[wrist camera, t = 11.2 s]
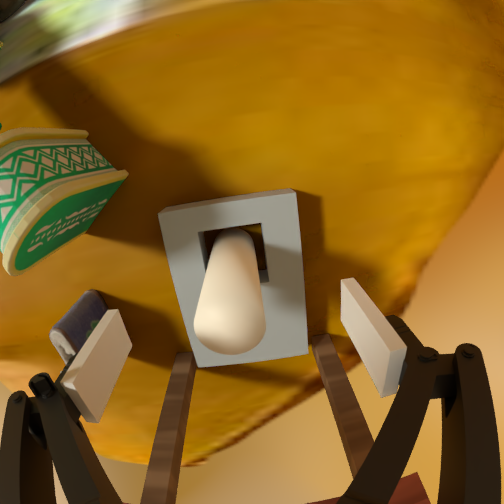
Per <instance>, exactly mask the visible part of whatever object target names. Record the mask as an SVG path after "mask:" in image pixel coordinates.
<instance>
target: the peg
mask: <svg viewBox="0 0 504 504" xmlns="http://www.w3.org/2000/svg"><path fill="white" fill-rule="evenodd" d="M194 331H195V334H196V336H197V338H198V339H199V341H200V342H201V343H202V344H203V345H204V346H205V347H207V348H208V349H210V350H212V351H214V352H216V353H220V354H225V355H237V354H242V353H245V352H248V351H250V350H251V349H253V348H254V347H256V346H257V345H258V344H259V343H260V342H261V340H262V339H263V337H264V334H265V331H266V320H265V313H264V307H263V300H262V293H261V287H260V280H259V274H258V267H257V261H256V254H255V247H254V242H253V239H252V237H251V236H250V235H249V234H248V233H247V232H246V231H244V230H242V229H240V228H228V229H225V230H223V231H222V232H220V233H219V234H218V235H217V237H216V238H215V241H214V244H213V248H212V252H211V255H210V259H209V263H208V267H207V270H206V274H205V278H204V282H203V286H202V290H201V294H200V298H199V302H198V306H197V310H196V314H195V318H194Z"/></svg>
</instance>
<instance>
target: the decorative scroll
mask: <svg viewBox="0 0 504 504" xmlns="http://www.w3.org/2000/svg"><path fill="white" fill-rule="evenodd" d="M3 44H4V43H3V42H1V41H0V49H1V47H2V46H3ZM1 127H2V125H1V123H0V130H1ZM88 135H89V133H88V132H87V131H86V130H74V129H55V128H17V129H11V130H9V131H7V132H4V133H2V134H0V251H1V252H2V253H3V266H4V268H5V270H6V271H7V272H8V273H9V275H12V276H18V275H21V274H23V273H25V272H26V271H28V270H30V269H31V268H32V267H34V266H35V265H37V264H38V263H40V262H41V261H43V260H44V259H46V258H47V257H49V256H50V255H52V254H53V253H55V252H56V251H58V250H59V249H61V248H62V247H64V246H65V245H67V244H69V243H70V242H72V241H73V240H75V239H76V238H78V237H80V236H81V235H83V234H85V233H86V231H87V230H88V228H89V227H90V225H91V224H92V223H93V221H94V220H95V218H96V217H97V216H98V214H99V213H100V211H101V210H102V209H103V207H104V206H105V205H106V203H107V202H108V201H109V199H110V198H111V197H112V195H113V194H114V193H115V192H116V190H117V189H118V188H119V186H120V185H121V184H122V183H123V181H124V180H125V179H126V178H127V176H128V175H129V173H128V172H127V171H126V170H120V171H117V170H116V169H115V168H114V167H113V166H112V165H111V164H110V163H109V162H108V161H107V160H106V159H105V158H104V157H103V156H102V155H101V154H100V153H99V152H98V151H97V150H96V149H95V148H94V147H93V146H92V145H91V144H90V143H89V142H88V141H87V140H86V138H87V137H88Z"/></svg>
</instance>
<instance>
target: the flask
mask: <svg viewBox="0 0 504 504" xmlns="http://www.w3.org/2000/svg"><path fill="white" fill-rule="evenodd" d="M107 310H109V309H108V306H107V305H106V303H105V301H104V299H103V298H102V297H101V295H100V294H99V293H98V292H97V291H95V290H92V291H90V290H88V291H86V292H85V293H84V294H83V295H82V296H81V297H80V299H79V300H78V301H77V302H76V303H75V304H74V305H73V306H72V307H71V308H70V310H69V311H68V312H67V313H66V314H65V315H64V316H63V317H62V318H61V319H60V320H59V321H58V322H57V323H56V324H55V325H54V326H53V327H52V329H51V330H50V333H49V337H50V340H51V342H52V343H53V345H54V346H55V348H56V349H57V351H58V352H59V354H60V356H61V357H62V359H63V360H64V362H65V364H67V363H68V361H69V359H70V358H71V357H72V356H74V355H75V354H76V353H79V351H80V350H81V348H82V347H83V345H84V344H85V342H86V341H87V339H88V338H89V336H90V335H91V333H92V332H93V330H94V329H95V328H96V326H97V325H98V323H99V322H100V320H101V319H102V317H103V316H104V315H105V313H106V312H107ZM61 372H62V371H61ZM61 372H60V373H61Z"/></svg>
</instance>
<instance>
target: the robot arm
mask: <svg viewBox="0 0 504 504" xmlns="http://www.w3.org/2000/svg"><path fill="white" fill-rule="evenodd" d="M25 2H26V0H0V22H2V21H3V20H5V19H6V18H8V17H9V16H10V15H12V14H13V13H14V12H15V11H16V10H17V9H18V8H19V7H21V6H22V5H23V4H24V3H25ZM341 321H342V323H343V325H344V327H345V329H346V331H347V333H348V334H349V336H350V338H351V340H352V342H353V344H354V346H355V348H356V349H357V351H358V353H359V355H360V357H361V359H362V361H363V363H364V365H365V367H366V369H367V371H368V372H369V375H370V376H371V378H372V380H373V382H374V384H375V386H376V388H377V390H378V392H379V394H380V396H381V397H386V396H389V395H392V394H396V393H397V394H396V397H395V399H394V401H393V404H392V406H391V408H390V411H389V413H388V415H387V417H386V419H385V421H384V423H383V425H382V428H381V430H380V432H379V434H378V436H377V438H376V440H375V442H374V444H373V445H372V447H371V449H370V451H369V453H368V455H367V457H366V459H365V460H364V462H363V464H362V466H361V467H360V469H359V471H358V473H357V474H356V476H355V478H354V479H353V481H352V483H351V484H350V486H349V487H348V489H347V491H346V492H345V493H344V494H343V495H342V496H341V497H340V498H339V500H338V501H337V503H336V504H388V503H389V501H390V499H391V497H392V495H393V493H394V491H395V489H396V487H397V485H398V482H399V480H400V478H401V476H402V474H403V471H404V469H405V467H406V465H407V462H408V460H409V457H410V455H411V453H412V450H413V447H414V445H415V442H416V440H417V437H418V434H419V431H420V428H421V426H422V423H423V420H424V417H425V413H426V410H427V407H428V404H429V400H430V399H437V398H441V404H442V455H441V472H440V484H439V493H438V501H437V504H501V467H500V452H499V442H498V433H497V425H496V418H495V412H494V406H493V400H492V395H491V390H490V386H489V381H488V376H487V373H486V368H485V364H484V360H483V357H482V353H481V351H480V349H479V348H478V347H477V346H475V345H473V344H469V343H465V344H461V345H459V346H458V347H457V348H456V351H455V353H454V354H439V353H438V351H436V350H435V349H433V348H430V347H424V346H423V345H422V343H421V342H420V341H419V340H418V339H417V337H416V336H415V335H414V333H413V332H412V331H411V330H410V329H409V327H408V326H407V325H406V324H405V323H404V321H403V320H402V319H401V318H399V317H397V316H395V315H390V316H386V317H384V316H383V314H382V313H381V312H380V310H379V309H378V308H377V306H376V305H375V304H374V303H373V301H372V300H371V299H370V298H369V296H368V295H367V294H366V292H365V291H364V290H363V289H362V287H361V286H360V285H359V284H358V282H357V281H356V280H355V279H354V278H348V279H342V280H341ZM131 348H132V343H131V341H130V339H129V336H128V334H127V331H126V328H125V326H124V323H123V321H122V318H121V315H120V313H119V310H118V309H113V310H107V312H106V313H105V315H104V316H103V317H102V319H101V320H100V322H99V323H98V325H97V326H96V328H95V329H94V330H93V332H92V333H91V335H90V336H89V338H88V339H87V341H86V342H85V344H84V345H83V347H82V348H81V350H80V351H79V353H76V354H75V355H74V356H72V357H71V358H70V359H69V361H68V363H67V364H66V366H65V367H64V369H63V371H62V372H61V373H60V375H59V377H58V378H57V380H56V381H55V383H54V382H53V381H52V379H51V378H50V376H49V374H47V373H39V374H37V375H35V376H33V377H32V378H31V380H30V381H29V385H28V386H29V387H30V389H31V390H32V392H33V393H34V395H35V396H36V397H28V396H27V394H26V393H25V392H24V391H17V392H14V393H13V394H12V395H11V396H10V397H9V399H8V402H7V407H6V413H5V418H4V424H3V431H2V437H1V446H0V504H57V503H56V496H55V487H54V477H53V464H52V463H54V466H55V469H56V472H57V474H58V478H59V480H60V483H61V485H62V488H63V491H64V493H65V496H66V498H67V500H68V503H69V504H123V502H122V501H121V499H120V497H119V496H118V494H117V492H116V491H115V489H114V487H113V486H112V484H111V482H110V481H109V479H108V477H107V475H106V473H105V471H104V469H103V468H102V466H101V464H100V462H99V460H98V458H97V456H96V454H95V452H94V450H93V448H92V445H91V443H90V441H89V439H88V437H87V435H86V432H85V430H84V428H83V425H82V423H81V422H80V421H79V418H80V415H82V416H83V418H84V419H85V420H86V422H92V423H99V422H100V419H101V417H102V414H103V412H104V409H105V407H106V404H107V402H108V400H109V397H110V395H111V393H112V390H113V388H114V386H115V383H116V381H117V379H118V376H119V374H120V372H121V370H122V367H123V365H124V363H125V361H126V359H127V356H128V354H129V352H130V350H131ZM398 385H399V386H400V387H399V389H398ZM397 389H398V392H397ZM52 460H53V461H52Z"/></svg>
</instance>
